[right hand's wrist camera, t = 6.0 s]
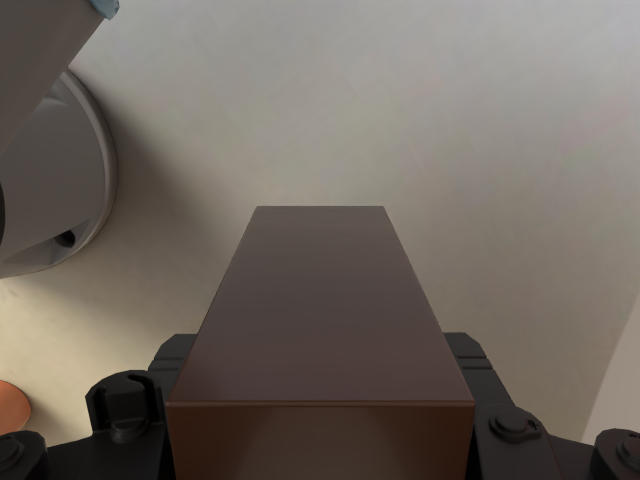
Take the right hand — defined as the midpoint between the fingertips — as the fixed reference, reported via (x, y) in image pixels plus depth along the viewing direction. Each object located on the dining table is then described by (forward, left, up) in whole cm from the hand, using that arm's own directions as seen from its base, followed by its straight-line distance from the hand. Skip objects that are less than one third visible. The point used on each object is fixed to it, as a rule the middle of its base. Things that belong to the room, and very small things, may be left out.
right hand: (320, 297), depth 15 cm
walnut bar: (0, -9, 0) cm, 9 cm away
